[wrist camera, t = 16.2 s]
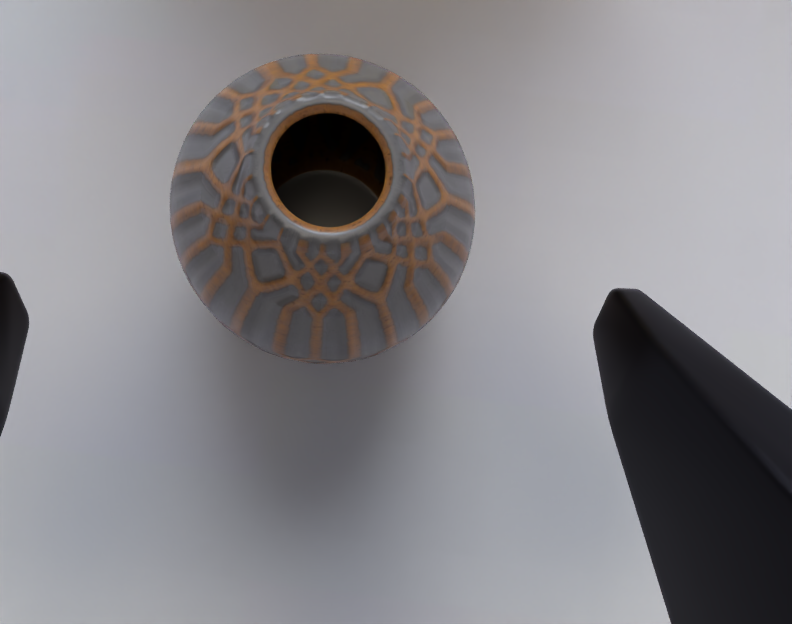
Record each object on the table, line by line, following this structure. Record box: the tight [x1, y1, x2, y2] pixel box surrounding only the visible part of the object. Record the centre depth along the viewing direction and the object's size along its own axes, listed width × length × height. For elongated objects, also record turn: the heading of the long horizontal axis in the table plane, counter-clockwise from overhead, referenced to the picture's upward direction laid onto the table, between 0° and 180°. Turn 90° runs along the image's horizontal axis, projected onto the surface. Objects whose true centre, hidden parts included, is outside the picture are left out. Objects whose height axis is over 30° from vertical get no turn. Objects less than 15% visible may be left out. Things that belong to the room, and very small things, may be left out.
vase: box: [170, 54, 475, 364], centre depth 14 cm, size 7×7×9 cm
